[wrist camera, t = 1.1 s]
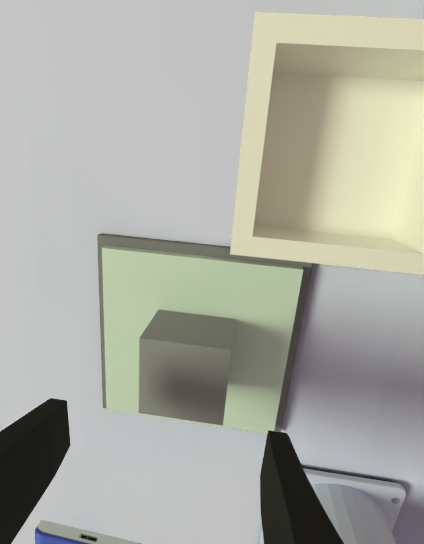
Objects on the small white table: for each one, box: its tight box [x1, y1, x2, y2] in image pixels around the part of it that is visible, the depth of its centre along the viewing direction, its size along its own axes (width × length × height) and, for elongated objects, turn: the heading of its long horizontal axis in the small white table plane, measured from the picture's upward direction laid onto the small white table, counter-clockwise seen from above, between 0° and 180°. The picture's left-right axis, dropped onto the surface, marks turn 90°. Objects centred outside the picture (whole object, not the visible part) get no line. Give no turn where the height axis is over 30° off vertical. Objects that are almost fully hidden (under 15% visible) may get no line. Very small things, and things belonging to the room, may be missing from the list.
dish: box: [230, 12, 424, 275], centre depth 12 cm, size 8×8×4 cm
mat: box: [97, 234, 312, 432], centre depth 17 cm, size 11×11×1 cm
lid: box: [102, 245, 303, 434], centre depth 15 cm, size 10×10×4 cm
